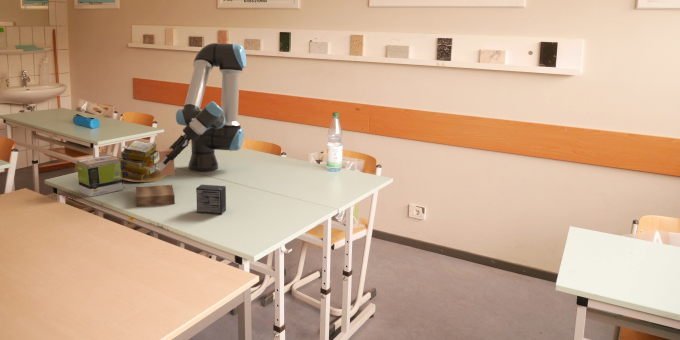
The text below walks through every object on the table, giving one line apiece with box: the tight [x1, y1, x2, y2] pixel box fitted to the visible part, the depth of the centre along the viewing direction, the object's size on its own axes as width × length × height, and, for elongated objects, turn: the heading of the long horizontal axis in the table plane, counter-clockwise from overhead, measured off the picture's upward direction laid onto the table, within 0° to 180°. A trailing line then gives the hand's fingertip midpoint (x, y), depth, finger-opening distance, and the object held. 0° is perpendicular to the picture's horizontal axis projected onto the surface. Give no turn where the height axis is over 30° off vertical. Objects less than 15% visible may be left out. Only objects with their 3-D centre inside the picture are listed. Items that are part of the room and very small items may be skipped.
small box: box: [195, 184, 227, 215], centre depth 218 cm, size 11×6×10 cm, turn 84°
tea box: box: [76, 154, 123, 197], centre depth 236 cm, size 15×10×15 cm, turn 141°
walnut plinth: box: [135, 184, 176, 207], centre depth 230 cm, size 15×15×4 cm
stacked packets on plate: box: [118, 140, 166, 183], centre depth 261 cm, size 25×25×17 cm
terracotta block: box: [158, 148, 175, 176], centre depth 244 cm, size 6×5×11 cm
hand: (158, 166), depth 243 cm, fingers closed on terracotta block, 5 cm apart
